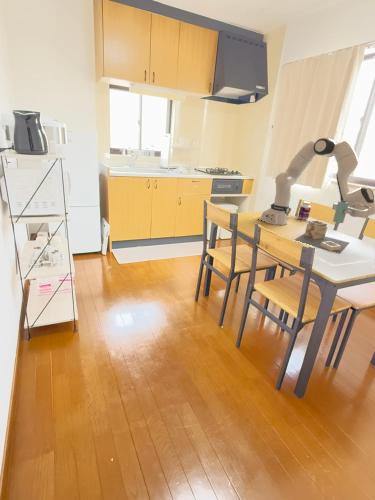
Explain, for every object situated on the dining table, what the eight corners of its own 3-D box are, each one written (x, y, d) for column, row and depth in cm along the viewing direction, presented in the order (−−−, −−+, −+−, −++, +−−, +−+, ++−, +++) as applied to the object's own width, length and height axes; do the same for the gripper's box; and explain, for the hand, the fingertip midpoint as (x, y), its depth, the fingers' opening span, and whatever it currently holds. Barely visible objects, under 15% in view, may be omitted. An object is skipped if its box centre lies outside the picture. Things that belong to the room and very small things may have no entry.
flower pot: (280, 213, 244) (281, 205, 241) (291, 216, 238) (293, 208, 235) (275, 215, 236) (277, 207, 234) (287, 218, 231) (288, 210, 228)
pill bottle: (302, 220, 227) (306, 203, 222) (295, 217, 234) (299, 201, 229) (309, 220, 230) (314, 203, 225) (302, 217, 237) (306, 201, 232)
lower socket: (320, 245, 171) (321, 242, 170) (329, 244, 174) (330, 241, 173) (330, 250, 165) (331, 246, 164) (340, 249, 168) (341, 245, 167)
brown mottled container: (304, 234, 190) (307, 220, 187) (314, 233, 194) (317, 220, 190) (314, 238, 183) (318, 224, 179) (324, 238, 186) (328, 224, 182)
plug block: (332, 221, 164) (338, 199, 159) (337, 220, 166) (343, 199, 161) (338, 223, 161) (344, 201, 156) (343, 222, 163) (349, 201, 158)
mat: (292, 241, 177) (293, 240, 177) (306, 232, 197) (306, 231, 197) (339, 254, 161) (339, 253, 161) (349, 243, 181) (349, 242, 181)
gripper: (343, 200, 173) (327, 201, 168) (373, 208, 156) (357, 209, 151) (340, 210, 176) (324, 211, 170) (370, 219, 158) (353, 220, 153)
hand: (340, 210), depth 160 cm, fingers closed on plug block, 4 cm apart
